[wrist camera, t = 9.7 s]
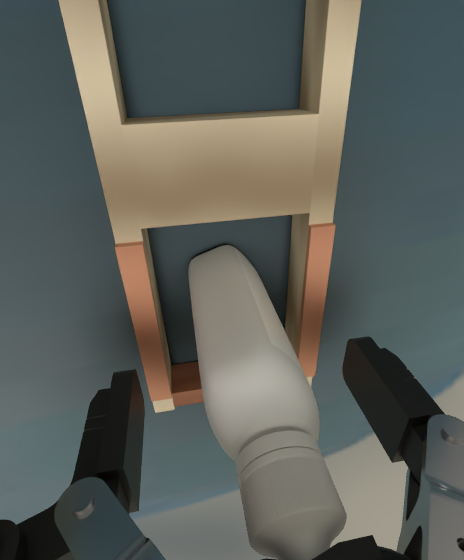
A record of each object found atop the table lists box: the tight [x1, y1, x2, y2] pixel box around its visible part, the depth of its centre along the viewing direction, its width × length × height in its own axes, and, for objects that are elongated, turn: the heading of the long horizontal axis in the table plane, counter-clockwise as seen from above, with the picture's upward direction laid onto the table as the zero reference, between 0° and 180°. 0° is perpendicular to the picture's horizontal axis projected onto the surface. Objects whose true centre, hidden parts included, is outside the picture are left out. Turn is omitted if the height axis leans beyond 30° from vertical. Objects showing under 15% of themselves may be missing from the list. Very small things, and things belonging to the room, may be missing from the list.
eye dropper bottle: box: [188, 245, 347, 560], centre depth 12 cm, size 4×6×12 cm
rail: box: [59, 0, 361, 413], centre depth 13 cm, size 24×8×2 cm, turn 2°
